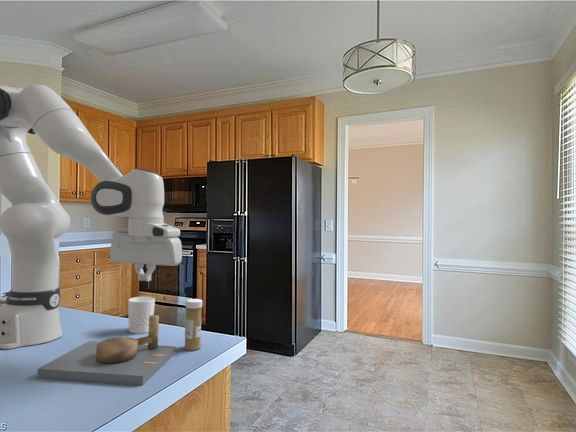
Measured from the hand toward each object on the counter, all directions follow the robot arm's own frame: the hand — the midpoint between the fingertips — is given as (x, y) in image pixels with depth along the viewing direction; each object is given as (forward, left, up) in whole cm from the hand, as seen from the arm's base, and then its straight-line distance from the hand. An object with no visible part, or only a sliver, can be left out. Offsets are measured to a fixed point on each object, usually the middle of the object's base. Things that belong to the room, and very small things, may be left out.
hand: (144, 280), depth 95 cm
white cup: (-9, +17, -19) cm, 27 cm away
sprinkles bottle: (+12, +5, -19) cm, 23 cm away
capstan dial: (0, -7, -17) cm, 18 cm away
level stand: (-3, -9, -19) cm, 21 cm away
